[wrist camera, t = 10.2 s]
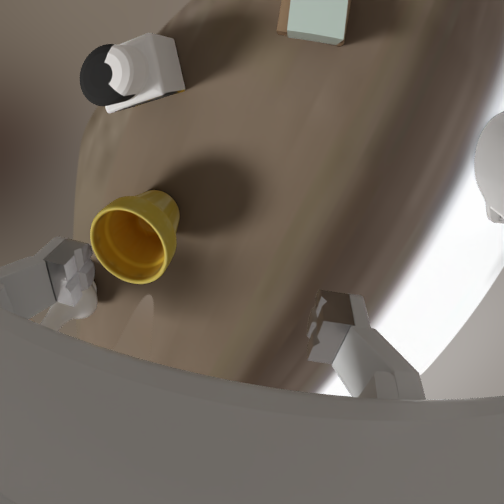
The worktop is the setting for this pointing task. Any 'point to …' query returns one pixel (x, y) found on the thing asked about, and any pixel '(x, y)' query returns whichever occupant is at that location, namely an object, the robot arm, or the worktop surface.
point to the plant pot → (136, 236)
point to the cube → (317, 20)
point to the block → (285, 15)
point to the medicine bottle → (132, 72)
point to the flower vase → (72, 309)
